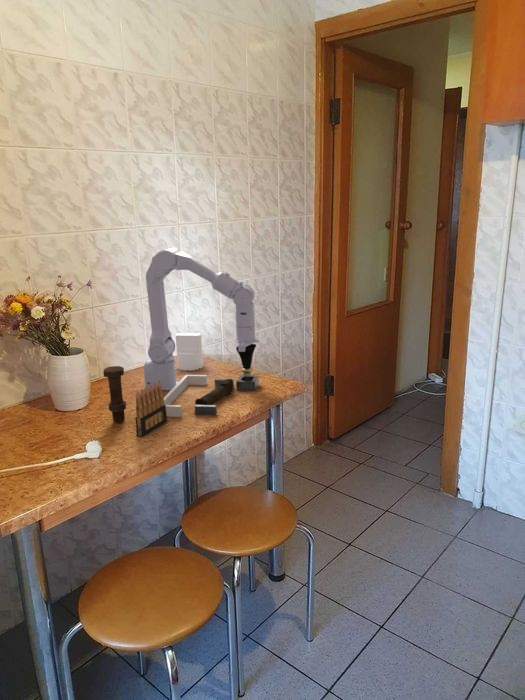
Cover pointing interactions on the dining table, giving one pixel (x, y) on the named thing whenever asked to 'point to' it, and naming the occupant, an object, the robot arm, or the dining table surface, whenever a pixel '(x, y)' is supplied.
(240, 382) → the tool holder
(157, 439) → the dining table surface
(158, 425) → the ammunition clip
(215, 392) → the hand tool
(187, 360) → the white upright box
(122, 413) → the bolt
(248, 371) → the release plunger
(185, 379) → the white u-shaped bracket
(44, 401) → the dining table surface
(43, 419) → the dining table surface
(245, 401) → the dining table surface
